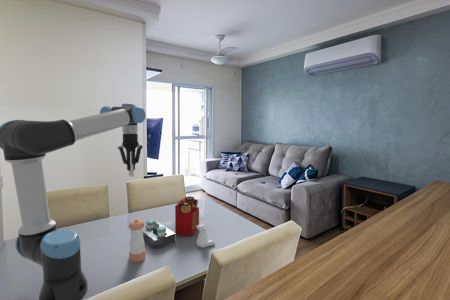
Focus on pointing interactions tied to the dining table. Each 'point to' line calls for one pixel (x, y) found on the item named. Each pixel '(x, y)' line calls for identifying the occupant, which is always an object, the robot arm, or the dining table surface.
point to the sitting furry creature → (203, 237)
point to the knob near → (161, 231)
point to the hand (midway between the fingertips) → (131, 176)
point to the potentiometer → (155, 226)
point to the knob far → (150, 224)
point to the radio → (186, 216)
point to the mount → (157, 241)
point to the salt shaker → (136, 241)
